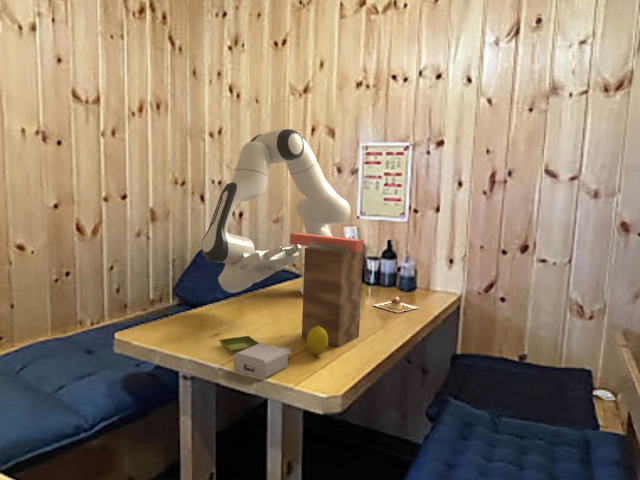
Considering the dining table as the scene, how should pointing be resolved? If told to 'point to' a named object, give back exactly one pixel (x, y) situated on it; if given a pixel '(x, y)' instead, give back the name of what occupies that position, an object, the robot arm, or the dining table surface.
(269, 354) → the charger
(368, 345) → the dining table surface
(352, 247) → the salmon red bar
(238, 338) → the green square tray
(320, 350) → the lemon
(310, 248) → the wooden knife block
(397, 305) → the dessert
